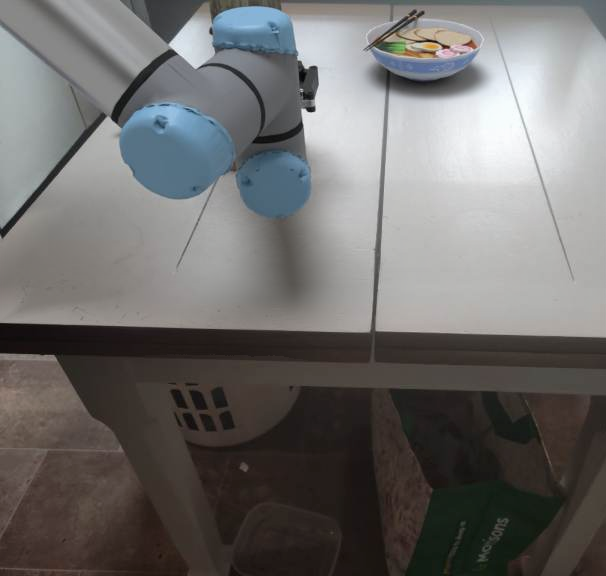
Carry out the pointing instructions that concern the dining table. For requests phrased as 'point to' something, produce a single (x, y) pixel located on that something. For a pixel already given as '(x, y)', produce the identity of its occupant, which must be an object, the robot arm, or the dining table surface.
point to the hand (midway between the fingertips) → (253, 60)
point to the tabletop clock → (240, 5)
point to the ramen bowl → (423, 47)
